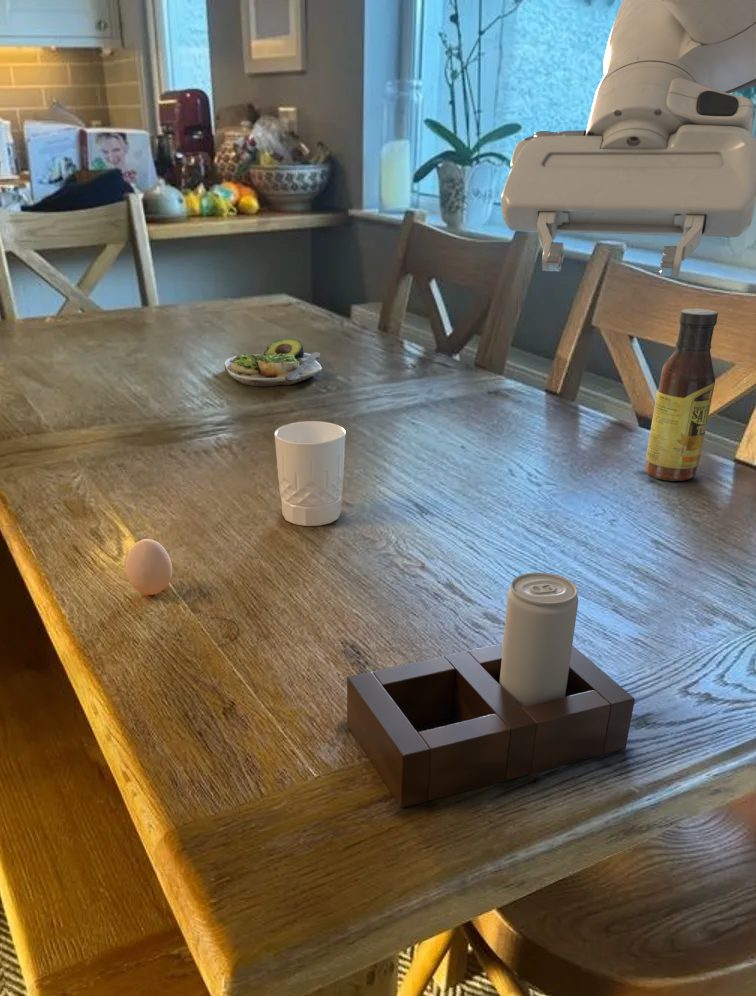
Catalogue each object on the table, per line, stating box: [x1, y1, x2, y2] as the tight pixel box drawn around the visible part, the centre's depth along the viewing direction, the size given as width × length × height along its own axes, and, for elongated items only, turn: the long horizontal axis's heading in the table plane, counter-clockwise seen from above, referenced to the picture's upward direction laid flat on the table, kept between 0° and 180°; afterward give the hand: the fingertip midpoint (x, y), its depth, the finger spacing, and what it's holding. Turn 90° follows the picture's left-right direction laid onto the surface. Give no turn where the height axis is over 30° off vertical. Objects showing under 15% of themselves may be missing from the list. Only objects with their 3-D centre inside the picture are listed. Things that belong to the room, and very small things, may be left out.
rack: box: [346, 642, 636, 809], centre depth 67 cm, size 18×10×4 cm, turn 109°
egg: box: [125, 538, 173, 596], centre depth 88 cm, size 4×4×6 cm
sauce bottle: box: [644, 308, 719, 482], centre depth 109 cm, size 7×6×20 cm
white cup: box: [273, 420, 346, 527], centre depth 102 cm, size 8×8×10 cm
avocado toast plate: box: [223, 338, 323, 387], centre depth 158 cm, size 19×18×5 cm
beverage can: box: [499, 572, 579, 708], centre depth 66 cm, size 5×5×12 cm
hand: (608, 269), depth 74 cm, fingers open, 8 cm apart
